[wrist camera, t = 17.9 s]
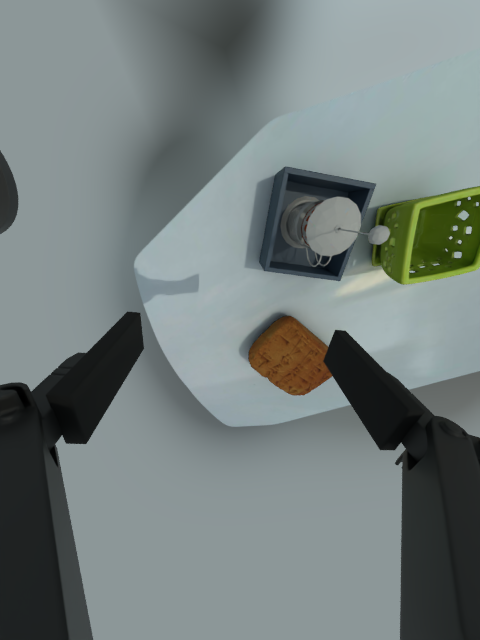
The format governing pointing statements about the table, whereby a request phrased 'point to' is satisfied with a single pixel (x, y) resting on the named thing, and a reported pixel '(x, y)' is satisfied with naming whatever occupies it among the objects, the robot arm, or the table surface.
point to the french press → (326, 226)
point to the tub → (294, 260)
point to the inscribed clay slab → (290, 357)
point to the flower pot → (429, 237)
